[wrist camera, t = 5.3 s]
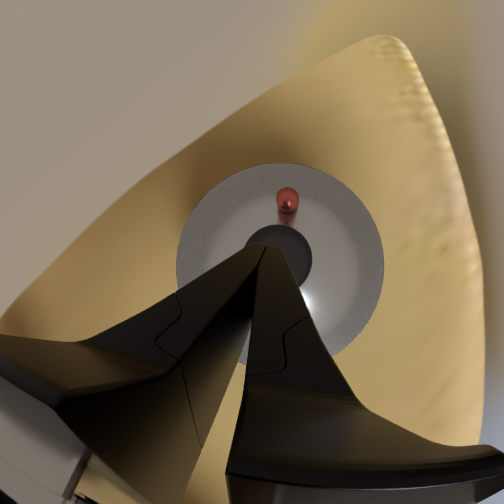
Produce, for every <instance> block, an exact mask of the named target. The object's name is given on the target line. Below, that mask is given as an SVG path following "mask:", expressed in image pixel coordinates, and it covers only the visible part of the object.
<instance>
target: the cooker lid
mask: <svg viewBox="0 0 504 504" xmlns="http://www.w3.org/2000/svg"><path fill="white" fill-rule="evenodd" d="M252 242H255V243H262V244H265V245H266V246H267V245H276V246H281V247H282V249H283V251H284V253H285V256H286V258H287V260H288V263H289V265H290V267H291V270H292V272H293V274H294V277H295V279H296V281H297V284H298V286H299V288H300V291H301V293H302V295H303V298H304V300H305V302H306V305H307V307H308V310H309V312H310V314H311V317H312V319H313V321H314V324H315V326H316V328H317V330H318V332H319V335H320V337H321V339H322V341H323V343H324V344H325V346H326V348H327V350H328V352H329V353H330V355H331V357H332V356H333V355H335V354H336V353H338V352H340V351H341V350H342V349H344V348H345V347H346V346H347V345H348V344H350V343H351V342H352V341H353V340H354V339H355V338H356V337H357V335H358V334H359V333H360V332H361V331H362V330H363V328H364V327H365V325H366V324H367V322H368V321H369V319H370V318H371V316H372V314H373V312H374V310H375V308H376V305H377V302H378V299H379V296H380V293H381V289H382V284H383V278H384V256H383V248H382V243H381V239H380V236H379V233H378V230H377V227H376V225H375V223H374V221H373V219H372V217H371V215H370V213H369V211H368V210H367V209H366V207H365V206H364V204H363V203H362V201H361V200H360V199H359V198H358V197H357V196H356V195H355V194H354V193H353V192H352V191H351V190H350V189H349V188H348V187H346V186H345V185H344V184H343V183H341V182H340V181H338V180H337V179H335V178H334V177H332V176H330V175H328V174H326V173H324V172H322V171H320V170H317V169H314V168H311V167H308V166H303V165H298V164H291V163H271V164H264V165H258V166H254V167H251V168H248V169H245V170H242V171H240V172H237V173H235V174H233V175H231V176H229V177H228V178H226V179H225V180H223V181H221V182H220V183H219V184H217V185H216V186H215V187H214V188H212V189H211V190H210V191H209V192H208V193H207V194H206V195H205V196H204V197H203V198H202V199H201V200H200V202H199V203H198V204H197V206H196V207H195V209H194V210H193V211H192V213H191V215H190V217H189V218H188V220H187V222H186V224H185V227H184V229H183V232H182V234H181V238H180V242H179V246H178V251H177V259H176V276H177V284H178V290H179V289H180V288H182V287H183V286H185V285H186V284H188V283H189V282H191V281H193V280H194V279H196V278H197V277H199V276H200V275H202V274H203V273H205V272H207V271H208V270H210V269H211V268H213V267H214V266H216V265H217V264H219V263H221V262H222V261H224V260H225V259H227V258H228V257H230V256H232V255H233V254H235V253H236V252H238V251H239V250H241V249H243V248H244V247H246V246H247V245H249V244H250V243H252ZM250 330H251V328H250ZM249 339H250V331H249V334H248V336H247V339H246V341H245V344H244V346H243V349H242V352H241V354H240V357H239V359H238V362H240V363H242V364H245V365H247V356H248V348H249Z"/></svg>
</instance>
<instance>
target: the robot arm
mask: <svg viewBox="0 0 504 504" xmlns="http://www.w3.org/2000/svg"><path fill="white" fill-rule="evenodd" d="M250 328H251V330H250ZM249 331H250V339H249V348H248V356H247V365H246V373H245V382H244V389H243V396H242V401H241V406H240V410H239V415H238V419H237V423H236V428H235V432H234V436H233V440H232V445H231V449H230V453H229V457H228V462H227V466H226V471H225V476H226V483H227V490H228V497H229V503H230V504H477V503H478V502H480V501H482V500H484V499H486V498H488V497H490V496H492V495H493V494H495V493H497V492H499V491H501V490H502V489H504V453H503V452H501V451H500V450H498V449H496V448H495V447H493V446H491V445H485V444H483V445H471V446H447V445H442V444H439V443H435V442H432V441H430V440H427V439H425V438H423V437H421V436H419V435H417V434H414V433H412V432H410V431H408V430H406V429H404V428H402V427H400V426H398V425H396V424H394V423H392V422H390V421H388V420H386V419H385V418H383V417H381V416H379V415H377V414H375V413H373V412H371V411H370V410H368V409H367V408H366V407H365V406H364V405H363V404H362V403H361V402H360V401H359V400H358V398H357V397H356V396H355V394H354V393H353V391H352V389H351V388H350V386H349V385H348V383H347V381H346V380H345V378H344V376H343V375H342V373H341V371H340V370H339V368H338V367H337V365H336V363H335V362H334V360H333V358H332V357H331V355H330V353H329V352H328V350H327V348H326V346H325V344H324V343H323V341H322V339H321V337H320V335H319V332H318V330H317V328H316V326H315V324H314V321H313V319H312V317H311V314H310V312H309V310H308V307H307V305H306V302H305V300H304V298H303V295H302V293H301V291H300V288H299V286H298V284H297V281H296V279H295V277H294V274H293V272H292V270H291V267H290V265H289V263H288V260H287V258H286V256H285V253H284V251H283V249H282V247H281V246H276V245H267V246H266V245H265V244H262V243H255V242H252V243H250V244H249V245H247V246H246V247H244V248H243V249H241V250H239V251H238V252H236V253H235V254H233V255H232V256H230V257H228V258H227V259H225V260H224V261H222V262H221V263H219V264H217V265H216V266H214V267H213V268H211V269H210V270H208V271H207V272H205V273H203V274H202V275H200V276H199V277H197V278H196V279H194V280H193V281H191V282H189V283H188V284H186V285H185V286H183V287H182V288H180V289H179V290H177V291H176V292H175V293H172V294H171V295H169V296H167V297H166V298H164V299H163V300H161V301H159V302H158V303H156V304H154V305H153V306H151V307H150V308H148V309H146V310H144V311H142V312H140V313H138V314H137V315H135V316H133V317H131V318H129V319H127V320H125V321H123V322H121V323H119V324H117V325H115V326H113V327H111V328H109V329H107V330H105V331H103V332H101V333H99V334H97V335H95V336H93V337H91V338H89V339H86V340H82V341H77V342H60V341H50V340H41V339H32V338H24V337H16V336H9V335H2V334H0V504H179V502H180V500H181V498H182V495H183V493H184V491H185V488H186V486H187V484H188V481H189V479H190V477H191V474H192V472H193V470H194V467H195V465H196V463H197V460H198V458H199V455H200V453H201V449H202V448H203V446H204V443H205V441H206V438H207V436H208V434H209V431H210V429H211V426H212V424H213V422H214V419H215V417H216V414H217V412H218V409H219V407H220V404H221V402H222V399H223V397H224V394H225V392H226V389H227V387H228V384H229V382H230V379H231V377H232V374H233V372H234V369H235V367H236V364H237V362H238V359H239V357H240V354H241V352H242V349H243V346H244V344H245V341H246V339H247V336H248V334H249Z"/></svg>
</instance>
